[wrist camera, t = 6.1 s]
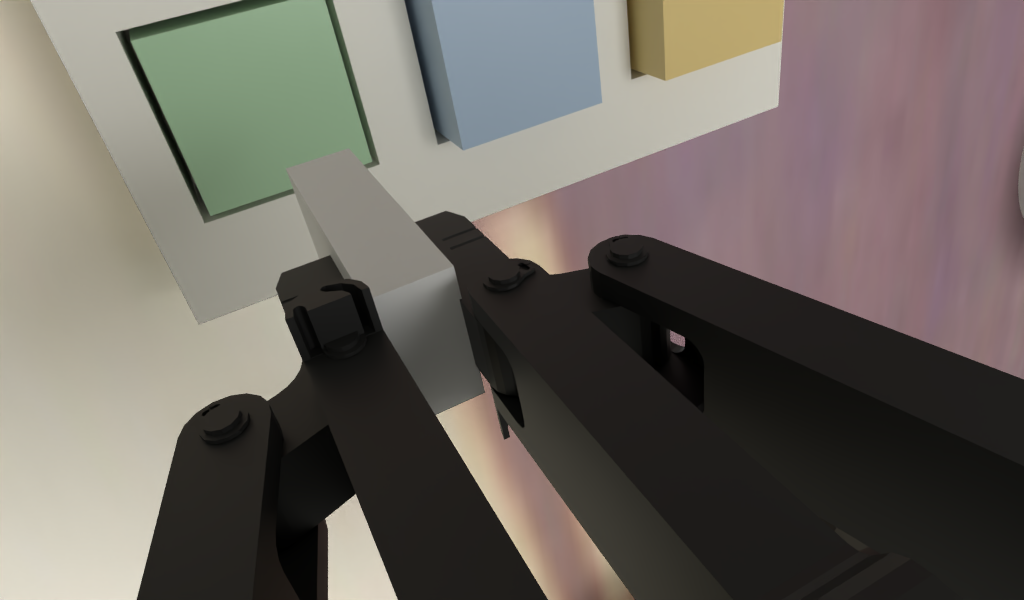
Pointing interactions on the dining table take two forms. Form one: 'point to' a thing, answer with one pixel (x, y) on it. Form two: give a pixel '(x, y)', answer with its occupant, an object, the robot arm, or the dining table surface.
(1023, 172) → the plate stack
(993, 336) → the dining table surface
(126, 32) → the key panel
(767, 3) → the key ochre
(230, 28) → the key sage
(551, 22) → the key blue
